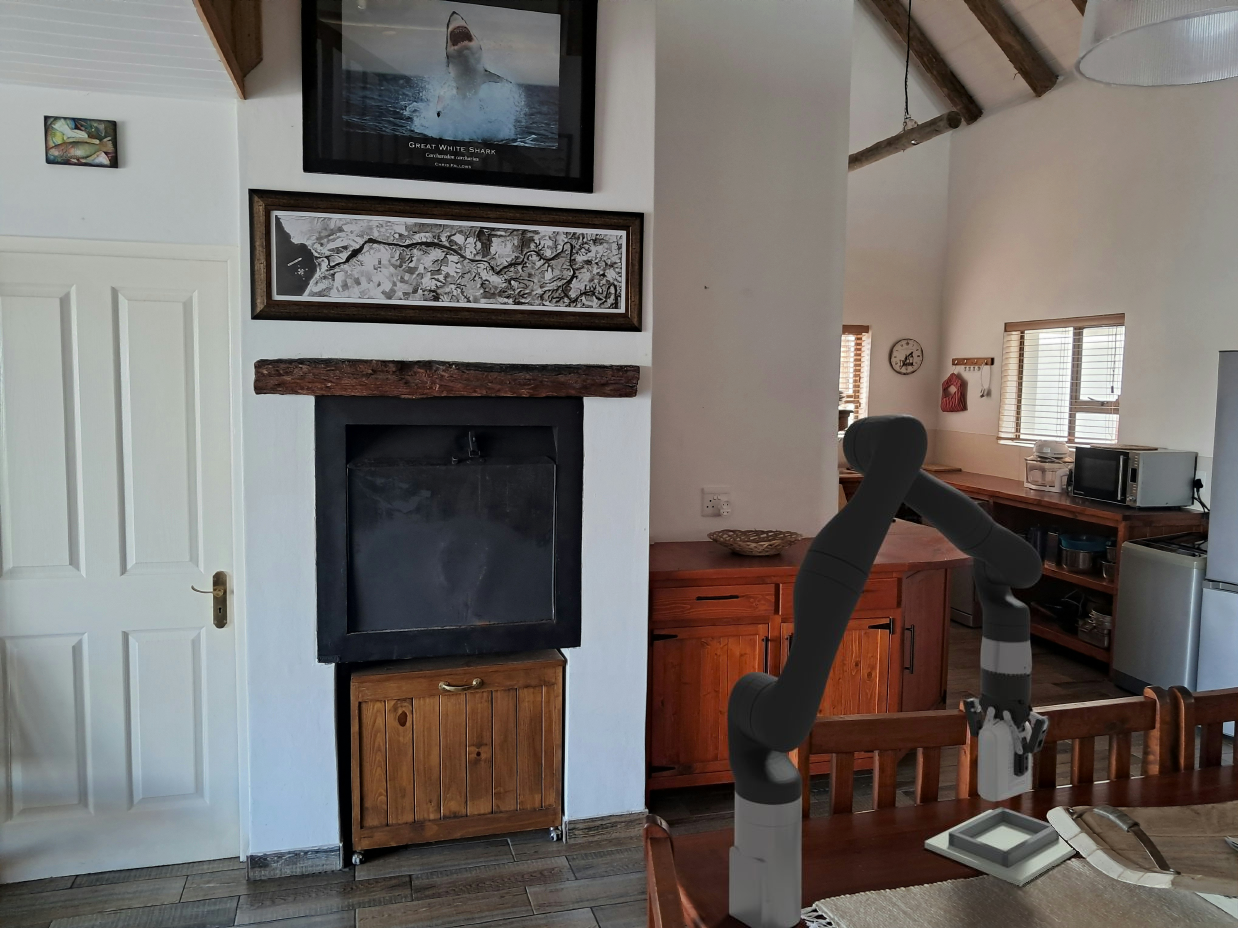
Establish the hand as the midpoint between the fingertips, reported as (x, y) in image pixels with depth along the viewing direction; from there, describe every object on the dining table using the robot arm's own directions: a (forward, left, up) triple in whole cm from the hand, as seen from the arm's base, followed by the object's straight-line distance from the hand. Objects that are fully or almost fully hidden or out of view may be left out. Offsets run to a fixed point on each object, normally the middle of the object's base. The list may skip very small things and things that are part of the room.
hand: (1004, 769), depth 144 cm
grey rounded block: (0, 0, -4) cm, 4 cm away
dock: (0, 0, -13) cm, 13 cm away
